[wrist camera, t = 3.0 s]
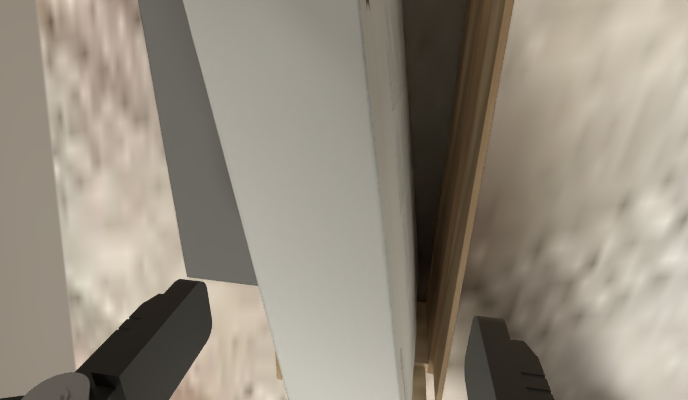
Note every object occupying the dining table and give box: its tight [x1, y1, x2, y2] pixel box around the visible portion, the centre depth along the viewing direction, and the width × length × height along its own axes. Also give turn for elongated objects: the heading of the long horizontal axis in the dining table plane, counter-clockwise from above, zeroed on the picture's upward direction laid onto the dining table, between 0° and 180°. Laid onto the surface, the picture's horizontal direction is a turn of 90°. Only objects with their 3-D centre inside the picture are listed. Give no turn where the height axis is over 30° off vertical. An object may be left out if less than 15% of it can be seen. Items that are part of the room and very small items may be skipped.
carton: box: [275, 0, 514, 400], centre depth 23 cm, size 11×27×10 cm, turn 179°
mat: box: [139, 0, 258, 286], centre depth 28 cm, size 9×25×1 cm, turn 179°
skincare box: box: [183, 0, 419, 400], centre depth 20 cm, size 21×6×16 cm, turn 8°
